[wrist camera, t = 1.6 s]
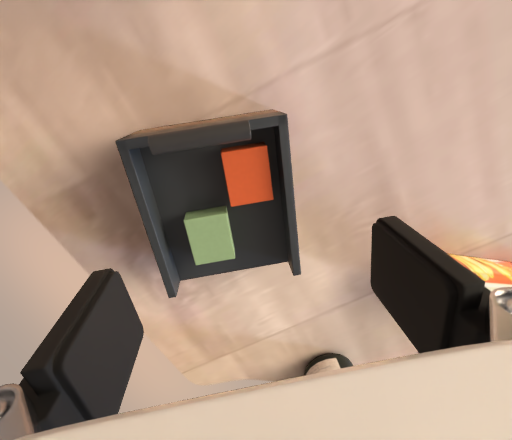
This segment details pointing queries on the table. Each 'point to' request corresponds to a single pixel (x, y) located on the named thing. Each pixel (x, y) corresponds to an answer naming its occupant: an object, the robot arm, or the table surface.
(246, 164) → the tea pack
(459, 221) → the table surface
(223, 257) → the tea pack
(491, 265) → the snack package
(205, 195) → the tray
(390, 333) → the table surface
